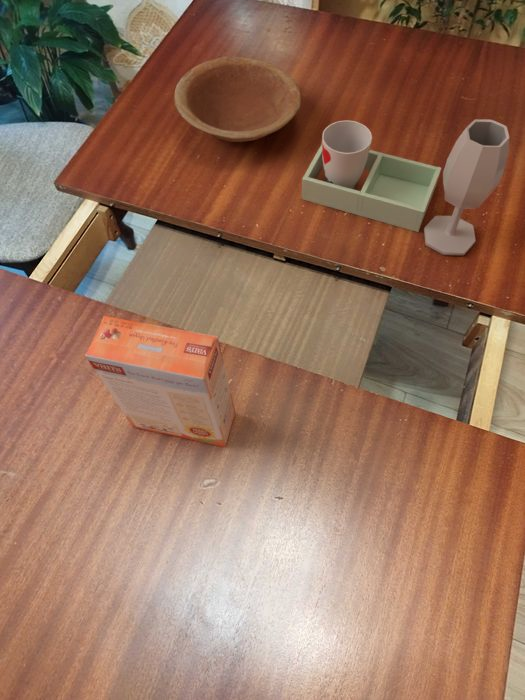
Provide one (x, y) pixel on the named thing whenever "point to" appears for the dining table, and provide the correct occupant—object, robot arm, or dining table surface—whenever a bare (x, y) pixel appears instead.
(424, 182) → the divided tray
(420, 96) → the dining table surface
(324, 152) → the cup
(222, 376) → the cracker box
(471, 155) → the wineglass
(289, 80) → the bowl
